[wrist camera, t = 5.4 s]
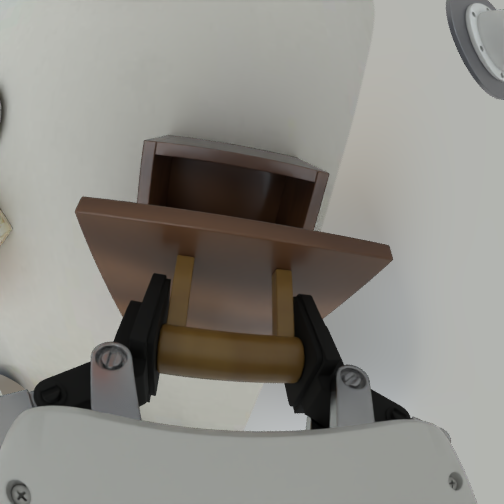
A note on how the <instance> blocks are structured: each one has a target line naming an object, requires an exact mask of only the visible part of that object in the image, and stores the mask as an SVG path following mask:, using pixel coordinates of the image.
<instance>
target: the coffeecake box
mask: <svg viewBox="0 0 504 504" xmlns="http://www.w3.org/2000/svg"><path fill="white" fill-rule="evenodd" d="M11 231H12V227H11V225H10V223H9V222H8V220H7V219H6V217H5V215H4V214H3V213H2V211H1V210H0V246H1V244H2V243H3V242H4V240H5V239H6V237H7V236H8V235H9V233H10V232H11Z"/></svg>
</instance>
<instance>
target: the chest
mask: <svg viewBox="0 0 504 504" xmlns="http://www.w3.org/2000/svg"><path fill="white" fill-rule="evenodd" d="M328 177H329V173H327V172H325V171H323V170H321V169H319V168H317V167H315V166H313V165H311V164H309V163H307V162H305V161H303V160H301V159H299V158H296V157H292V156H288V155H283V154H279V153H274V152H270V151H265V150H260V149H255V148H250V147H245V146H239V145H234V144H228V143H222V142H216V141H210V140H203V139H196V138H189V137H181V136H173V135H166V136H162V137H157V138H153V139H148V140H144V145H143V152H142V159H141V168H140V177H139V187H138V198H137V203H141V204H149V205H156V206H164V207H171V208H178V209H185V210H192V211H199V212H206V213H212V214H219V215H225V216H231V217H238V218H244V219H250V220H256V221H262V222H268V223H274V224H280V225H286V226H291V227H297V228H302V229H308V230H314V227H315V223H316V220H317V216H318V213H319V209H320V206H321V202H322V199H323V195H324V192H325V188H326V184H327V181H328Z"/></svg>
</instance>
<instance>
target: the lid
mask: <svg viewBox="0 0 504 504" xmlns="http://www.w3.org/2000/svg"><path fill="white" fill-rule="evenodd" d="M75 214H76V216H77V219H78V222H79V224H80V227H81V229H82V232H83V234H84V237H85V239H86V242H87V244H88V246H89V249H90V251H91V253H92V256H93V258H94V260H95V262H96V265H97V267H98V269H99V271H100V273H101V275H102V277H103V279H104V282H105V284H106V286H107V288H108V290H109V292H110V294H111V296H112V298H113V300H114V301H115V303H116V305H117V307H118V309H119V311H120V313H121V315H122V316H123V317H124V314H125V312H126V309H127V307H128V305H129V303H130V301H131V300H133V301H138V302H142V301H143V298H144V296H145V293H146V291H147V288H148V285H149V283H150V280H151V278H152V275H153V273H157V274H163V275H166V276H167V279H171V286H170V299H169V309H168V316H167V323H166V324H163V325H162V326H161V329H160V333H159V339H158V347H157V371H158V372H159V373H161V374H168V375H175V376H183V377H191V378H200V379H210V380H222V381H235V382H254V383H296V382H297V381H298V380H299V379H300V378H301V375H302V373H303V369H304V361H305V354H304V347H303V343H302V341H301V340H300V339H299V338H298V337H295V334H294V309H293V297H294V296H295V297H297V295H298V294H306V295H311V296H312V297H313V300H314V302H315V304H316V306H317V308H318V311H319V313H320V315H321V317H322V319H323V318H324V317H326V316H327V315H328V314H330V313H331V312H332V311H333V310H335V309H336V308H337V307H338V306H340V305H341V304H342V303H343V302H345V301H346V300H347V299H348V298H350V297H351V296H352V295H353V294H354V293H356V292H357V291H358V290H359V289H360V288H361V287H363V286H364V285H365V284H366V283H367V282H368V281H370V280H371V279H372V278H373V277H374V276H376V275H377V274H378V273H379V272H380V271H381V270H382V269H383V268H385V267H386V266H387V265H388V264H389V263H390V262H391V261H392V260H393V257H392V254H391V250H390V247H389V245H385V244H380V243H376V242H370V241H366V240H361V239H355V238H350V237H345V236H340V235H335V234H330V233H324V232H319V231H313V230H308V229H302V228H297V227H291V226H286V225H280V224H274V223H268V222H262V221H256V220H250V219H244V218H238V217H231V216H225V215H219V214H212V213H206V212H199V211H192V210H185V209H178V208H171V207H164V206H156V205H149V204H141V203H134V202H126V201H117V200H109V199H101V198H92V197H82V198H81V199H80V201H79V203H78V205H77V208H76V210H75Z"/></svg>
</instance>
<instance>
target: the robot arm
mask: <svg viewBox="0 0 504 504" xmlns="http://www.w3.org/2000/svg"><path fill="white" fill-rule="evenodd" d="M465 16H466V26H467V30H468V34H469V37H470V40H471V42H472V45H473V47H474V49H475V51H476V53H477V55H478V57H479V59H480V61H481V62H482V64H483V65H484V67H485V68H486V69H487V70H488V72H489V73H490V74H491V75H492V76H493V77H495V78H496V79H497V80H500V81H504V9H500V10H493V11H492V10H491V9H490V8H488V7H487V6H485V5H483V4H480V3H474V4H470V5H469V6H468V7H467V10H466V15H465ZM170 286H171V279H167V276H166V275H163V274H157V273H153V275H152V278H151V280H150V283H149V285H148V288H147V291H146V293H145V296H144V298H143V301H142V302H138V301H133V300H131V301H130V303H129V305H128V307H127V309H126V312H125V314H124V317H123V319H122V321H121V324H120V326H119V329H118V331H117V334H116V336H115V339H114V342H105V343H102V344H99V345H98V346H97V347H95V348H94V350H93V351H92V354H91V361H90V362H88V363H86V364H83V365H81V366H78V367H76V368H73V369H70V370H68V371H65V372H63V373H60V374H58V375H55V376H52V377H50V378H47V379H45V380H43V381H41V382H39V384H38V385H37V386H36V387H35V389H34V391H31V392H29V391H28V390H27V389H26V390H23V391H18V392H14V393H11V394H6V395H2V396H0V504H477V501H476V498H475V495H474V493H473V490H472V488H471V485H470V483H469V480H468V478H467V476H466V473H465V471H464V469H463V466H462V464H461V462H460V460H459V458H458V456H457V454H456V452H455V450H454V448H453V446H452V445H451V438H450V436H449V434H448V433H447V432H446V431H445V430H444V429H442V428H439V427H437V426H436V425H434V424H432V423H429V422H426V421H422V420H420V419H418V418H415V417H412V418H410V415H409V413H408V412H407V411H406V410H405V409H404V408H403V407H401V406H400V405H398V404H396V403H395V402H393V401H391V400H389V399H387V398H386V397H384V396H382V395H380V394H379V393H377V392H375V391H373V390H372V389H371V388H370V381H369V378H368V376H367V374H366V373H365V372H364V371H363V370H362V369H360V368H358V367H356V366H353V365H344V364H343V362H342V359H341V357H340V355H339V352H338V350H337V348H336V346H335V344H334V341H333V339H332V337H331V335H330V332H329V330H328V328H327V326H325V324H324V321H323V319H322V317H321V315H320V313H319V311H318V308H317V306H316V304H315V302H314V300H313V297H312V296H311V295H306V294H298V295H297V297H295V296H294V297H293V309H294V334H295V337H298V338H299V339H300V340H301V341H302V343H303V347H304V354H305V361H304V369H303V373H302V375H301V378H300V379H299V380H298V381H297V382H296V383H284V384H285V388H286V392H287V397H288V401H289V405H290V406H293V408H294V413H305V415H307V416H308V417H307V422H306V430H301V431H267V432H265V431H264V432H263V431H261V432H260V431H259V432H258V431H257V432H256V431H227V430H212V429H200V428H190V427H182V426H174V425H167V424H160V423H154V422H148V421H142V420H141V415H140V409H139V407H140V406H142V405H143V404H145V403H146V402H150V397H151V395H153V396H156V391H157V385H158V379H159V374H160V373H159V372H158V371H157V347H158V339H159V333H160V329H161V326H162V325H163V324H166V323H167V316H168V309H169V299H170Z"/></svg>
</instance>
